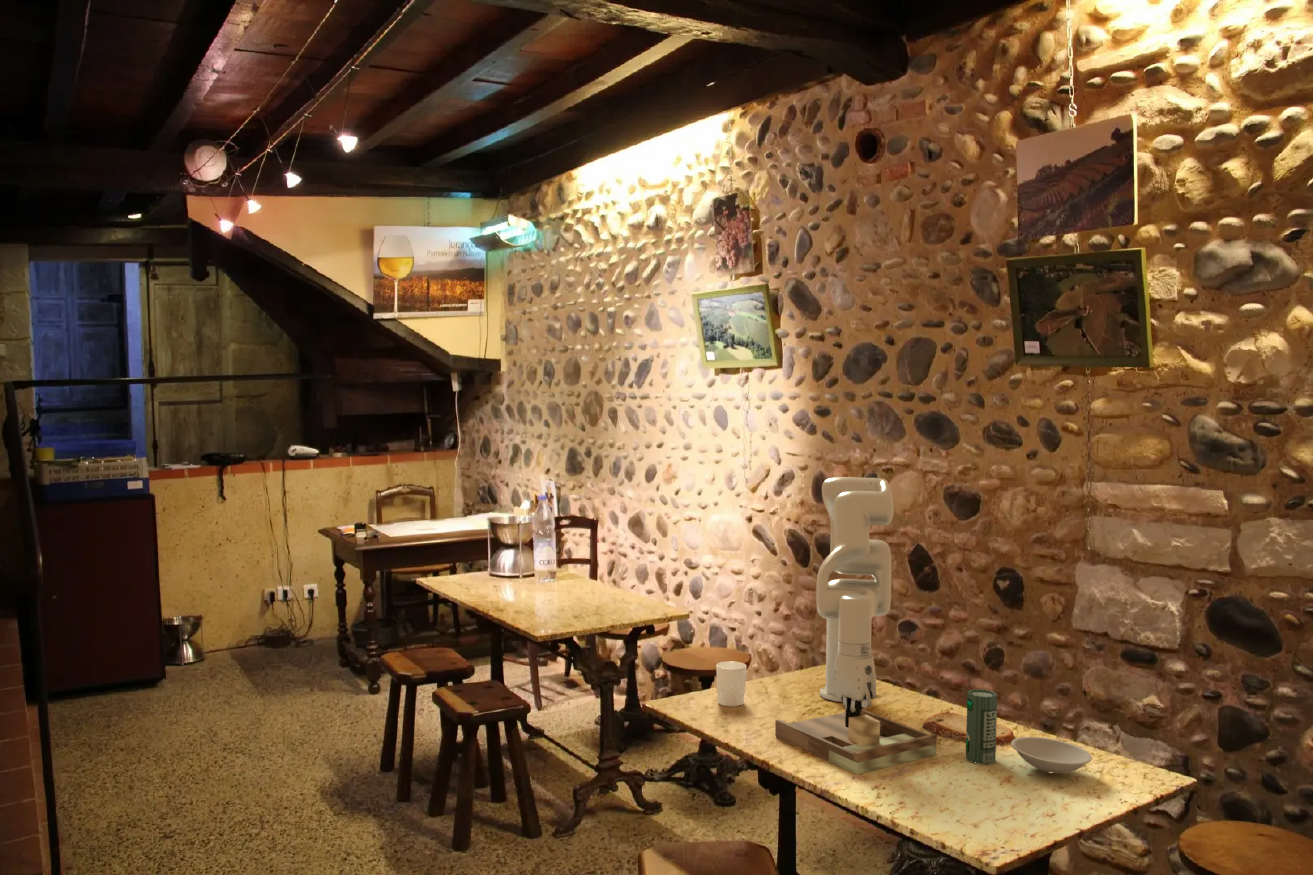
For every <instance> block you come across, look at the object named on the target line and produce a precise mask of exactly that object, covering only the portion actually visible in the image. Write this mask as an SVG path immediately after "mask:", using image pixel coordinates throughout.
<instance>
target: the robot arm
mask: <svg viewBox="0 0 1313 875" xmlns="http://www.w3.org/2000/svg"><path fill="white" fill-rule="evenodd" d="M891 490H892V489H891V486H890V483H889V481H888V480H887V479H885V478H880V477H860V476H859V477H857V476H855V477H854V476H835V477H830V478H829V477H828V478H827V479H825V480H824V481H823V482H822V487H821V495H822V500H823V504H824V506H825V509H826V512H827V514H828V516H829V517H828V518H829V521H830V545H829V546H830V547H829V548H830V550H829V551H830V553H829V555H827V556H826V557H825V559H824V560H823V561H822V563H821V564H820V566H819V569H818V571H817V575H816V591H815V593H816V603H815V604H816V610H817V613H818V615H819V616H820V617H821V618H822V619H826V643H825V644H826V647H825V648H826V650H825V653H826V654H825V657H826V658H825V686H823V687H821V688H820V689H819V696H820V697H821V698H823V699H826V700H827V701H828V700H829V701H833V702H841V703H842V704H843V709H844V710H845V712H846V713H845V726H846V727H847V728H848V727H849V717H856V716H860V715H861V711H862V710H863V709H864V708H870V707H871V706H872V700H875V699H876V696H877V680H876V679H877V675H876V666H875V661H874V657H873V656H872V653H873V649H872V619H873V618H874V617H882V616H886V615H888V613H889V612H890V609H891V604H892V603H891V601H892V598H891V597H892V553H891V549H890V546H889V544H888V543H887V542H886V541H884V540H880V539H870V526H872V525H873V526H888V525H890V524H891V523H892V522H893V518H894V513H895V510H894V498H893V494H892V491H891ZM833 572H835V573H838V574H840V575H848V576H849V575H850V576H851V575H854V576H855V575H856V576H871V577H872V578H873V579H859V578H837V579H832V580H829V578H830V575H832V573H833Z"/></svg>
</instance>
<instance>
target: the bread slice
mask: <svg viewBox="0 0 1313 875" xmlns="http://www.w3.org/2000/svg"><path fill="white" fill-rule="evenodd" d="M966 725H967V715H964V714H959V713H957V712H951V711H950V710H949V711H945V712H943V711H942V712H938V713H935V714H934V715H931V716H930V717H928V718H927V719H926V720H924V722H923V723H922V726H923V727H922V729H924V730H927V731H929V732H931V733H932V734H935V735H937V736H940V737H942V738H947V739H951V740H954V741H955V740H956V741H960V742H966ZM1014 739H1016V737H1015V734H1014V732H1013V730H1012V729H1011V728H1010V727H1009V726H1008V727H1007V726H1005V725H1003V724H1002V725H1001V724H1000V723H996V745H1005V744H1009V743H1008V742H1012V740H1014ZM1000 743H1001V744H1000ZM1004 743H1005V744H1004Z"/></svg>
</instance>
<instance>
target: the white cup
mask: <svg viewBox="0 0 1313 875" xmlns="http://www.w3.org/2000/svg"><path fill="white" fill-rule="evenodd" d="M715 666H716V669H715V670H716V693H717V703H718V704H719V705H721V706H724V707H731V706H732V707H739V705H740V706H742V705H743V703H745V693H746V681H747V680H746V679H747V678H746V677H747V665H746V664H745V663H744V662H739V661H731V660H730V661H720V662H717V664H716V665H715Z"/></svg>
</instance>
